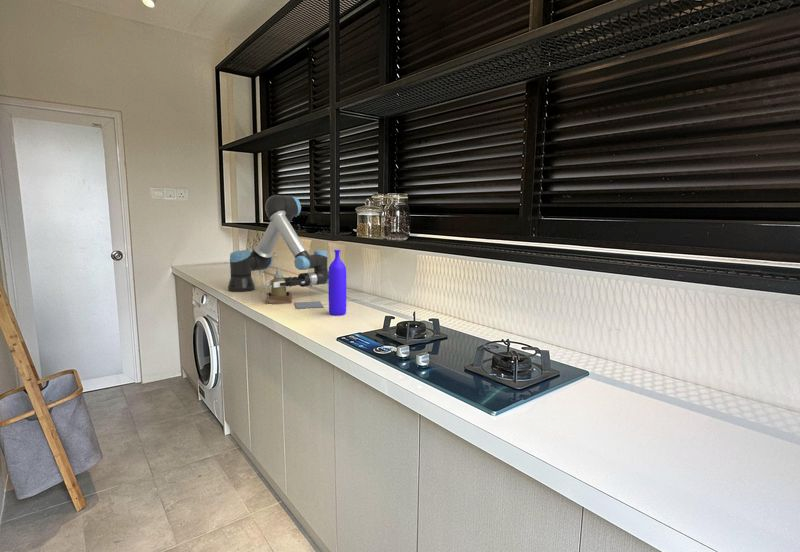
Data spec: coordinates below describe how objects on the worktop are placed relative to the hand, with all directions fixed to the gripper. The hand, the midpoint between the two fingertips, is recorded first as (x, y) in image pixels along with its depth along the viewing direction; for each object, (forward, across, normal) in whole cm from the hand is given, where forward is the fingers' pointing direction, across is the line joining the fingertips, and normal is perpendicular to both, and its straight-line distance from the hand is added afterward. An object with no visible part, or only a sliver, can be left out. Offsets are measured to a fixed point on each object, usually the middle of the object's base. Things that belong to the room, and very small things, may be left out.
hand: (269, 284), depth 213 cm
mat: (-11, -18, -10) cm, 23 cm away
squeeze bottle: (-5, 0, -10) cm, 11 cm away
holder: (-5, 0, -10) cm, 11 cm away
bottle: (-10, -42, -10) cm, 44 cm away
